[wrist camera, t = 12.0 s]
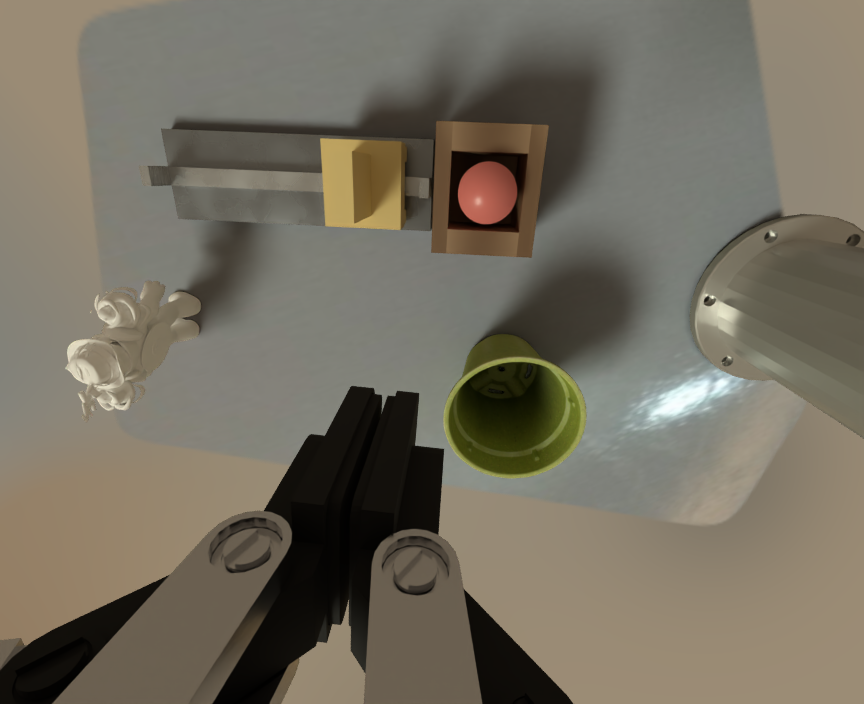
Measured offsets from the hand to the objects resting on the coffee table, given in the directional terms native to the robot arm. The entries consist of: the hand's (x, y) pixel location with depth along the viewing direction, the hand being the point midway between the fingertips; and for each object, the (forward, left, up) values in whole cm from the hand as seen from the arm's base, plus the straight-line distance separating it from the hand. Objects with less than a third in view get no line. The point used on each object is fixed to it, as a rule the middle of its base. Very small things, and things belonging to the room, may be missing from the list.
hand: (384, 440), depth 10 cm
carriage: (+5, -5, -23) cm, 24 cm away
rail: (+10, -5, -24) cm, 26 cm away
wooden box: (-3, -5, -24) cm, 25 cm away
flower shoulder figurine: (+21, +6, -24) cm, 32 cm away
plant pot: (-6, +9, -24) cm, 26 cm away
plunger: (-3, -5, -21) cm, 22 cm away
